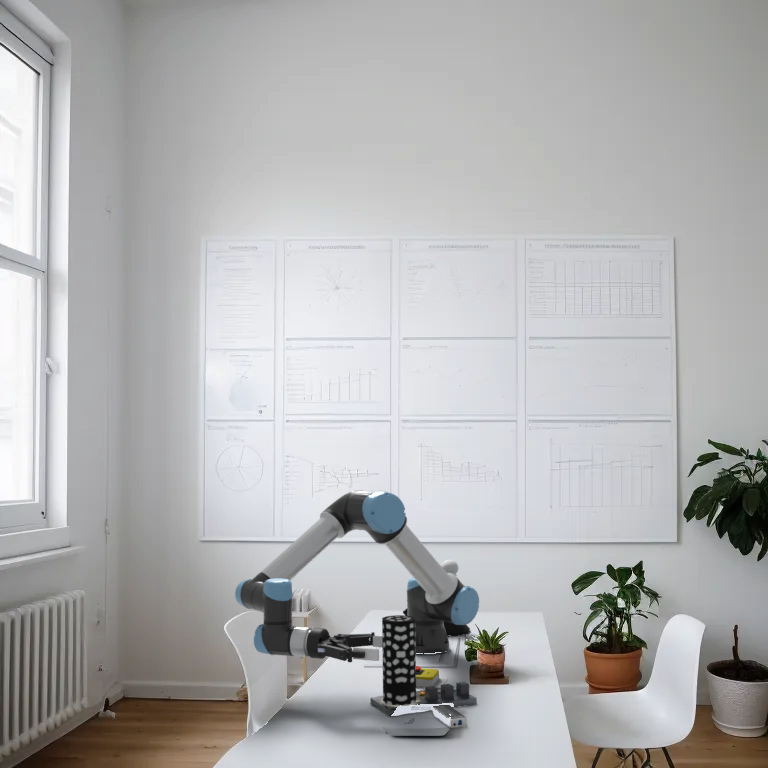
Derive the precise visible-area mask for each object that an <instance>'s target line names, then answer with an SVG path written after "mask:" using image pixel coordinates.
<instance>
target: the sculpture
mask: <svg viewBox="0 0 768 768" xmlns="http://www.w3.org/2000/svg"><path fill="white" fill-rule="evenodd" d="M440 566H441V567H442V568H443V569H444V570H445V572H446V573H452V574H454V575H455V576H456V577H457V576H458V575H457V573H458V571H459V565H458V563H457V562H456V561H455V560H453V559H446V560H445V561H443V562H442V563H441V565H440ZM402 614H404V615H405V616H408V614H407V608H406V609H404V610H403V611H402ZM444 628H445V631H446V634H447V635H451V636H450V637H458V635H460V636H464V635H463V634H465V635H468V634H470V631H471V628H470V626H468V624H466V625H456V624H454V623H450V622H446V621H444Z"/></svg>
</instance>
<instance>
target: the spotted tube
mask: <svg viewBox="0 0 768 768" xmlns="http://www.w3.org/2000/svg"><path fill="white" fill-rule="evenodd" d="M381 621H382V622H381V623H382V624H381V625H382V626H381V627H382V628H381V636H382V647H381V648H382V696H383V701H384V702H385V703H387V704H391V705H408V704H412V703H414V702H416V691H417V687H416V666H417V664H416V663H417V658H416V657H417V654H416V643H415V618H414V617H412V616H405V615H401V614H399V615H398V614H396V615H387V616H384V617H382V618H381Z"/></svg>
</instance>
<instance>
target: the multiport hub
mask: <svg viewBox="0 0 768 768" xmlns="http://www.w3.org/2000/svg"><path fill="white" fill-rule="evenodd" d="M433 708H434V709H435V710H437V711H438V712H439V713H441V714H442V715H444V716H445V717H446V718H449V717H451V728H450V729H455V728H456V729H457V728H462V727H467V726H468V722H467V721H468V717H467V716H466V715H464V714H463V713H461V712H460V711H458V710H457V709H456V708H455V707H454V708H453V707H451V706H450V705H439V706H433ZM449 714H451V716H450V715H449Z"/></svg>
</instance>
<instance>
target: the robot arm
mask: <svg viewBox="0 0 768 768" xmlns="http://www.w3.org/2000/svg"><path fill="white" fill-rule="evenodd" d="M405 510H406V506H405V505H404V503H403V501H402V500H401V498H400V497H399V496H397V495H396V494H395V493H393V492H388V491H384V490H363V489H362V490H361V489H358V490H355V489H354V490H351V491H350V492H347V493H345V494H343V495H342V496H340V497H339V498H338V499H336V500H335V501H333V502H332V503H331V504H330V505H329V506H327V507H326V508H325V509H324V510H323V511H322V512H320V514H319V519H318V520H317V521H316V522H314V524H312V525H311V526H310V527H308V528H307V530H305V532H303V533H302V534H301V535H300V536H299V537H298V538H297V539H296V540H295V541H293V542H292V543H291V544H290V545H289V546H288V547H287V548H285V550H283V551H282V552H281V553H280V554H279V555H278V556H276V558H274V559H273V560H272V561H271V562H270V563H269V564H268V565H266V567H264V568H263V569H262V570H261V571H260V572H258V574H256V576H254V577H253V578H251V579H250V578H249V579H244V580H242V581H240V582H239V583H238V585H237V586H236V588H235V592H234V596H235V597H234V598H235V599H236V602H237V603H238V604H239V605H240V606H241V607H244V608H246V609H249V610H253V611H254V610H255V611H258V612H260V613H263V623H262V624H261V623H260V624H259V625H258V626H257V627H256V629H255V630H254V636H253V645H254V648H255V650H256V652H258V653H260V654H265V655H266V654H267V655H271V656H284V657H285V656H289V657H299V660H302V659H304V658H310V659H318V660H322V659H324V658H325V659H326V657H329V658H332V659H335V660H339V661H343V662H346V661H347V663H353V660H362V661H371V662H372V661H374V662H378V661H380V649H379V648H382V635H375V634H376V633H375V632H374V631H371V633H350V634H349V633H348V634H343V633H338V634H335V635H333V636H331V635H330V632H329V630H328V629H326V628H321V627H309V626H293V596H294V593H293V583H292V580H293V579H294V578H295V577H296V576H297V575H298V574H299V573H300V572H302V571H303V569H304V568H306V567H307V566H308V565H309V564H310V563H312V561H314V559H316V558H317V557H318V556H319V555H320V554H321V553H322V552H323V551H324V550H326V548H328V546H330V545H331V544H332V543H333V542H334V541H335V540H336V539H342V538H343V537H345V536H346V535H347V534H348V533H350V532H352V531H355V530H356V531H357V530H358V531H364V532H366V533H367V534H368V535H369V536H370V537H371V539H373V540H374V542H375V543H376V544H378V545H385V547H386V548H387V549H388V550H389V551H390V552H391V554H393V556H394V557H395V558H396V559H397V560H398V562H400V564H401V565H402V566H403V568H404V569H406V571H407V572H408V573H409V574H410V575H411V577H412V578H410V579H408V581H407V588H406V589H407V590H406V601H407V602H406V603H407V604H406V605H407V606H406V607H407V608H406V609H407V614H408V616H412V617H414V618H415V643H416V653H423V654H424V653H435V652H445V651H448V650H449V649H450V641H449V638H448V637H449V636H447V634H446V631H445V628H444V621H446V622H450V623H454V624H456V625H468V624H471V622H473V621H474V619H475V618H476V616H477V614H478V612H479V608H480V597H479V594H478V591H476V589H475V588H474V587H471V586H470V585H464V584H463V583H462V582H461V581H460V579H459V578H458V577H457V576H455V575H454V574H452V573H446V572H445V570H444V569H443V568H442V567H441V566H442V565H441V564H440V563H439V562H438V561H437V560H436V558H435V557H434V556H433V554H432V553H431V552H430V551H429V550H428V549H427V548H426V547H425V545H424V543H422V542H421V541H420V540H419V538H418V536H416V534H415V533H414V532H413V531H412V530H411V529H410V527H409V526H408V525H407V523H408V518H407V516H406V512H405ZM369 646H370V648H369ZM371 646H372V647H373V648H372V647H371ZM449 651H450V650H449ZM449 651H448V652H449ZM445 653H446V652H445Z"/></svg>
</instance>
